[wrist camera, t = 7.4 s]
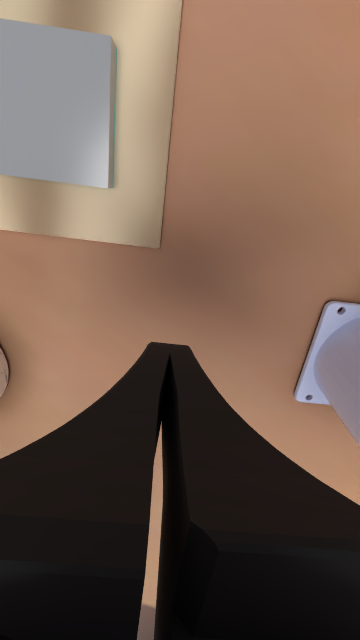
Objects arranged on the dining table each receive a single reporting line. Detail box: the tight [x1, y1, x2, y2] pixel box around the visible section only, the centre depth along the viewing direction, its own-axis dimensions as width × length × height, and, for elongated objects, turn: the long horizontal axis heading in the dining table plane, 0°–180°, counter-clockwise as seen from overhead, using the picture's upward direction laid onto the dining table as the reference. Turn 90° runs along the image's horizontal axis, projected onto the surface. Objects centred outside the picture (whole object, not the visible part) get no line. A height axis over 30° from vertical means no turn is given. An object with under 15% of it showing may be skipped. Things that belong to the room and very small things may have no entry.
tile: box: [0, 18, 117, 188], centre depth 14 cm, size 1×6×7 cm
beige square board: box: [0, 0, 182, 249], centre depth 15 cm, size 12×12×1 cm
